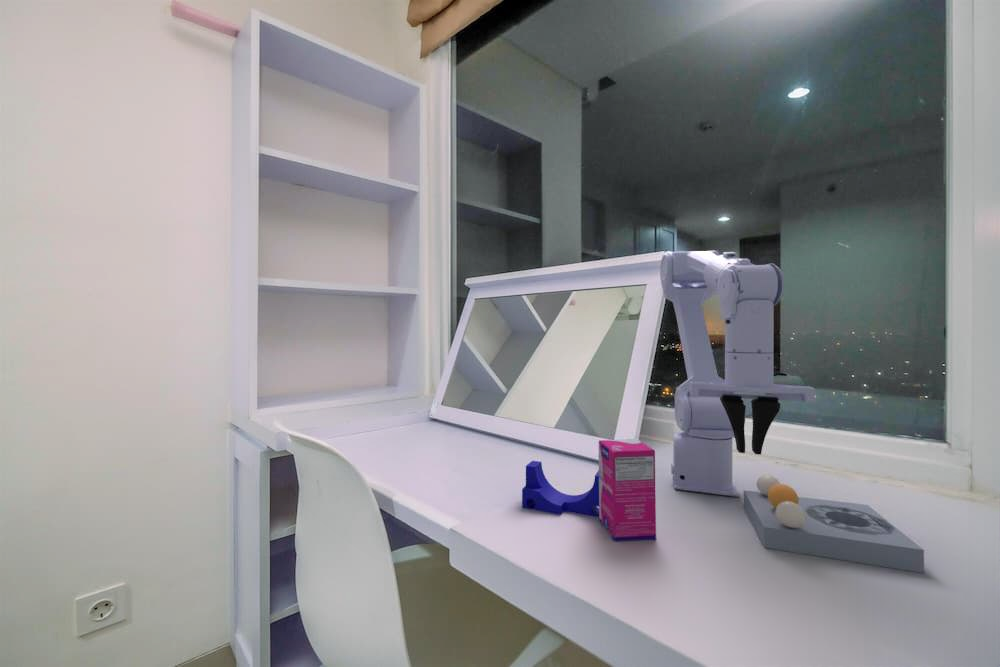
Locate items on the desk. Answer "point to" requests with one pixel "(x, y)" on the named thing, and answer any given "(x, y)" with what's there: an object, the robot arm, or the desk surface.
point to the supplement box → (627, 489)
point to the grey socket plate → (835, 533)
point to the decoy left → (766, 483)
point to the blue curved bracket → (556, 495)
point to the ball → (781, 494)
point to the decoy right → (790, 514)
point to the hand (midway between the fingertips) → (748, 451)
